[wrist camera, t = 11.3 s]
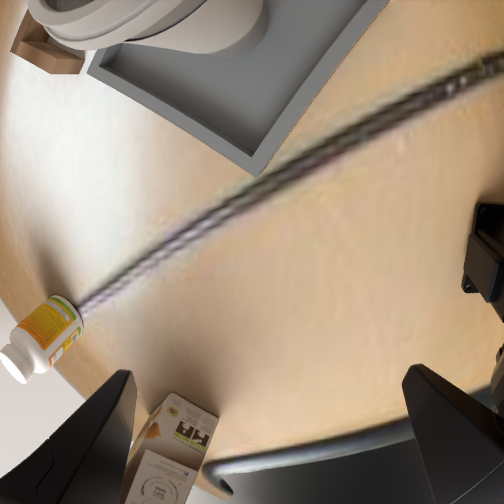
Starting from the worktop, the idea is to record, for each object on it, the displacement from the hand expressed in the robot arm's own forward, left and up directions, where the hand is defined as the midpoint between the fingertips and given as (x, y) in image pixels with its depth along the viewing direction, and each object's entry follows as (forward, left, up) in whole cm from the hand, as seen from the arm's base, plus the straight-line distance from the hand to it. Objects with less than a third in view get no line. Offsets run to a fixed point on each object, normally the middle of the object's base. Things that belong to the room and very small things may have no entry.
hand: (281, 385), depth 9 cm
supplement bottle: (+26, +9, -12) cm, 30 cm away
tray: (+4, -14, -12) cm, 19 cm away
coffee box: (+15, +23, -12) cm, 30 cm away
